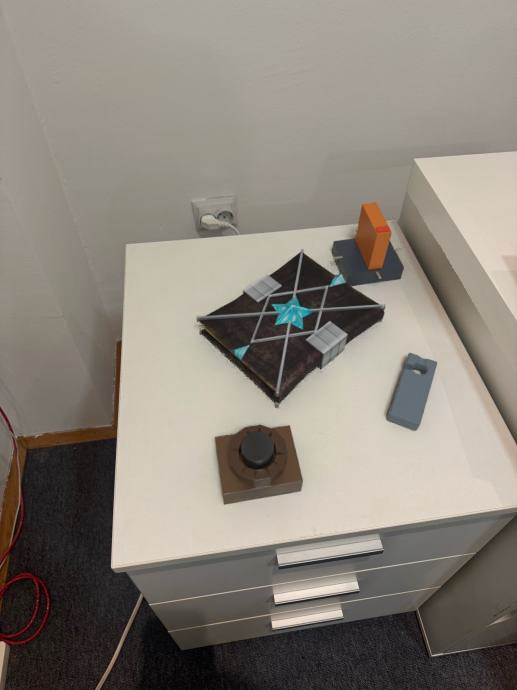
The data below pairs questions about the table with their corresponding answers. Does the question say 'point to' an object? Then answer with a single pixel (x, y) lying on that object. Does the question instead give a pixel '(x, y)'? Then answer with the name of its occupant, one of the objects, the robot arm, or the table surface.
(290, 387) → the book
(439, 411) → the table surface
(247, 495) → the block
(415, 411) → the bracket
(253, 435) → the release button
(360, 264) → the plate
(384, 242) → the orange handle lever
